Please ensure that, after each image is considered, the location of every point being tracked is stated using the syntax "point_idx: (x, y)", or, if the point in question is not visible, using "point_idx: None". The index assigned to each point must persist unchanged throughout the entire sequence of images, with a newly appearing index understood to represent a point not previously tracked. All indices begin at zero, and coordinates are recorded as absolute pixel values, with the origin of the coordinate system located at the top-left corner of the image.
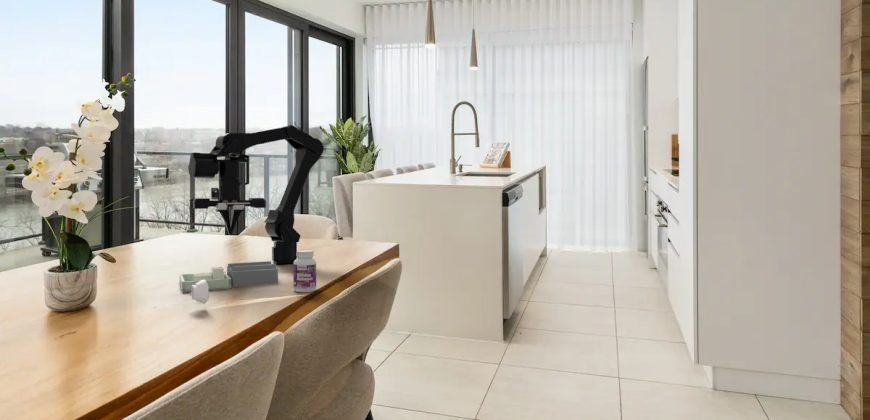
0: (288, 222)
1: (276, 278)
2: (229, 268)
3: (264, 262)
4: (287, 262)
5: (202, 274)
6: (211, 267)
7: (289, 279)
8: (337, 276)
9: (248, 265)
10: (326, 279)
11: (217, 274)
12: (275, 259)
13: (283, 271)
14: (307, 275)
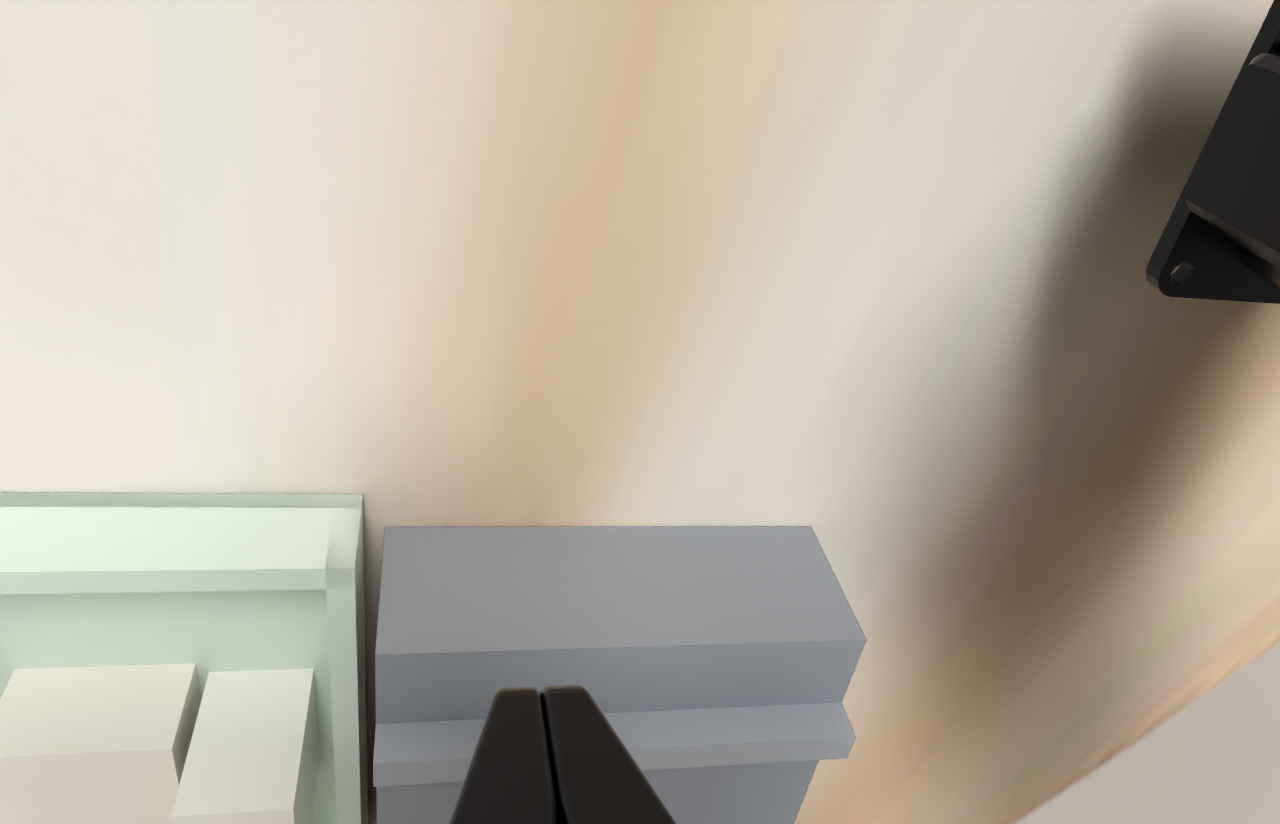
0: None
1: None
2: (380, 795)
3: (776, 754)
4: (1269, 299)
5: (89, 797)
6: (173, 820)
7: (912, 639)
8: (1255, 647)
9: None
10: (1101, 726)
11: None
12: (1215, 221)
13: (1220, 104)
14: None
